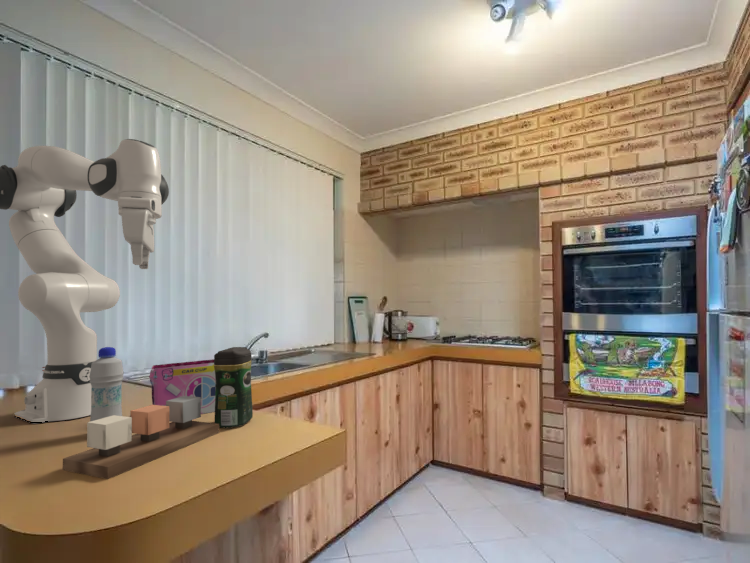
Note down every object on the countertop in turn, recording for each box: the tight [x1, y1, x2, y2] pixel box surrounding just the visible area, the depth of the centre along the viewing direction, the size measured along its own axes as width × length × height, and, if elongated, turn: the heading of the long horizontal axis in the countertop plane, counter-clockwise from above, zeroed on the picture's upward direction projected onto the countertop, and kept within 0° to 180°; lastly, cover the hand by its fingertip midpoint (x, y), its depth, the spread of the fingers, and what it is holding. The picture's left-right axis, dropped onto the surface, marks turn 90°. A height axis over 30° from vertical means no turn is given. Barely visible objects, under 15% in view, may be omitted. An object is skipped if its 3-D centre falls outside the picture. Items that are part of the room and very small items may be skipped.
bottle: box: [89, 346, 124, 422], centre depth 95 cm, size 7×7×20 cm
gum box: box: [148, 358, 216, 415], centre depth 113 cm, size 24×8×14 cm, turn 127°
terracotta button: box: [129, 404, 170, 435], centre depth 84 cm, size 5×5×4 cm
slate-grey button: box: [166, 396, 202, 423], centre depth 92 cm, size 5×5×4 cm
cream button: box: [86, 415, 133, 450], centre depth 76 cm, size 5×5×4 cm
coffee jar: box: [213, 346, 254, 429], centre depth 101 cm, size 10×8×19 cm
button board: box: [62, 420, 220, 480], centre depth 84 cm, size 12×26×6 cm, turn 158°
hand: (140, 266), depth 96 cm, fingers open, 8 cm apart
